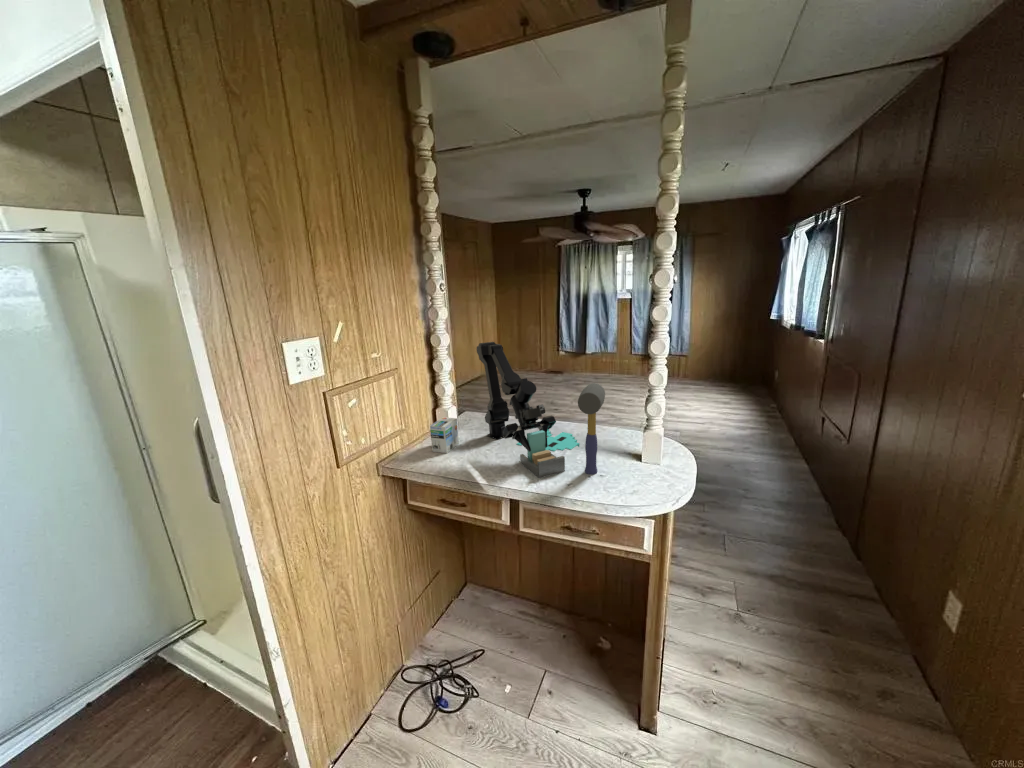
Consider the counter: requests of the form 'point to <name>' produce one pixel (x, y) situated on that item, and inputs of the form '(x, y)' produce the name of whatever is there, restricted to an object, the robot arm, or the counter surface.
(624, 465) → the counter surface
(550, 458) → the offcut
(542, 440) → the teal rectangular block
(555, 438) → the alien figure
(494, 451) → the counter surface
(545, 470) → the rack
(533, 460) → the offcut
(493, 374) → the robot arm
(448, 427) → the light bulb box
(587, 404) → the rubber mallet
